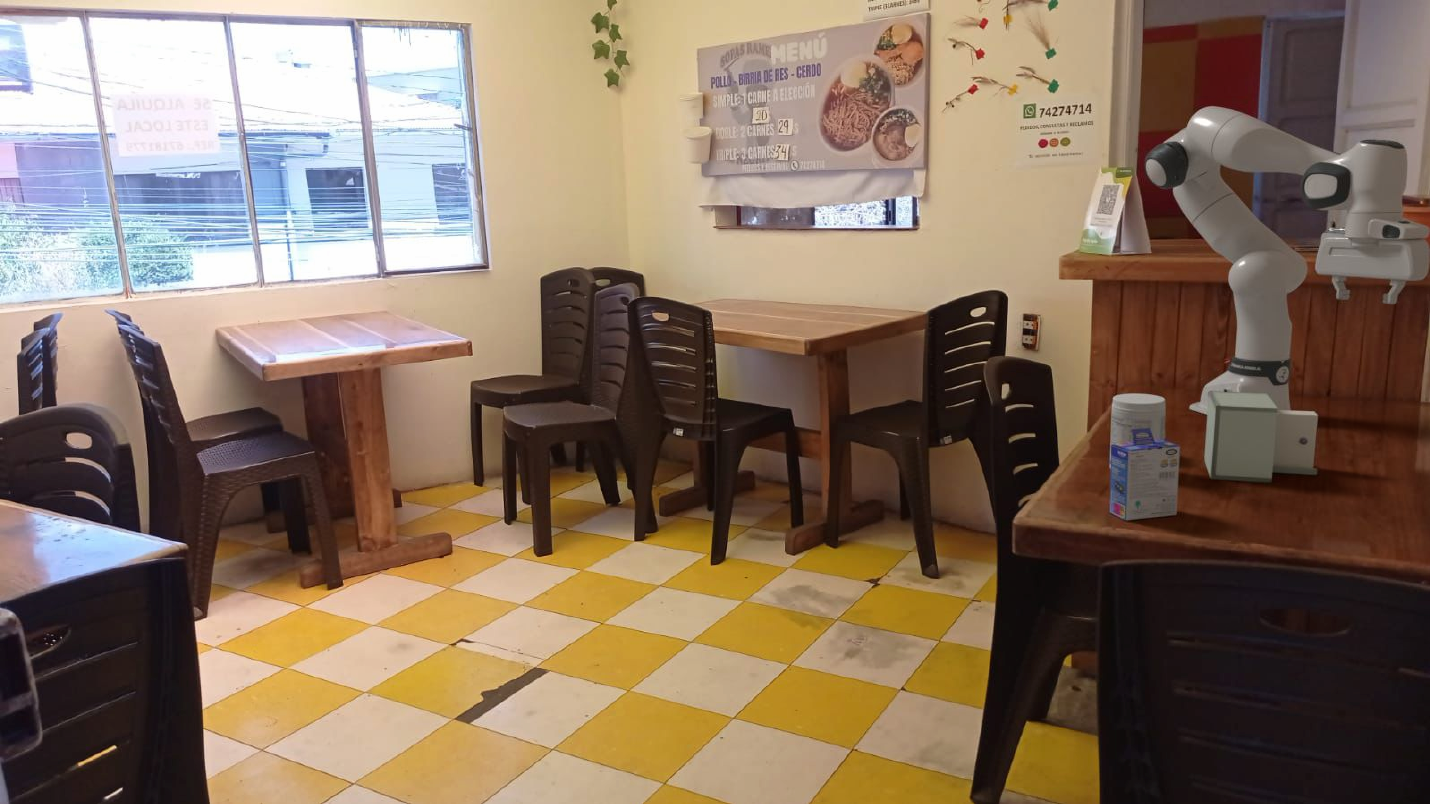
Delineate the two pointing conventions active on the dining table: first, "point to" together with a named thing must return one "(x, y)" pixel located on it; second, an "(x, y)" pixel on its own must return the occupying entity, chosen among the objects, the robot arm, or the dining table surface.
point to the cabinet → (1243, 438)
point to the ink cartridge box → (1144, 477)
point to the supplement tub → (1136, 417)
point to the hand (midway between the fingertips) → (1365, 301)
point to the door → (1295, 438)
